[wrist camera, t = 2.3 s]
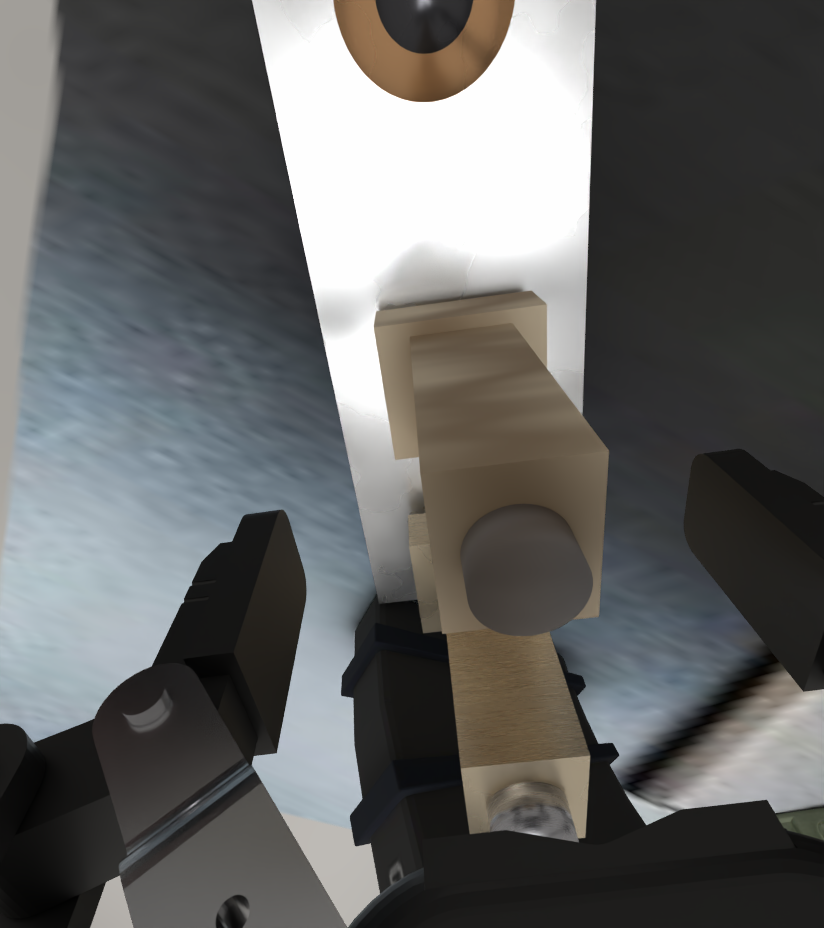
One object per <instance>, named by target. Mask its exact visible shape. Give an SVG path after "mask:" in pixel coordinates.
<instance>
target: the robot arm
mask: <svg viewBox="0 0 824 928" xmlns="http://www.w3.org/2000/svg"><path fill="white" fill-rule="evenodd" d="M684 532H685V536H686V540H687V543H688V545H689V547H690V549H691V551H692V552H693V554H694V555H695V556H696V557H697V559H698V560H699V561H700V562H701V564H702V565H703V566H704V567H705V569H706V570H707V571H708V572H709V574H710V575H711V576H712V577H713V579H714V580H715V581H716V582H717V584H718V585H719V586H720V587H721V589H722V590H723V591H724V593H725V594H726V595H727V596H728V598H729V599H730V600H731V601H732V603H733V604H734V605H735V606H736V608H737V609H738V610H739V611H740V613H741V614H742V615H743V616H744V618H745V619H746V620H747V621H748V623H749V624H750V625H751V626H752V628H753V629H754V630H755V631H756V633H757V634H758V635H759V636H760V638H761V639H762V640H763V641H764V643H765V644H766V645H767V646H768V648H769V649H770V650H771V651H772V653H773V654H774V655H775V656H776V658H777V659H778V660H779V662H780V663H781V664H782V665H783V667H784V668H785V669H786V670H787V672H788V673H789V674H790V675H791V677H792V678H793V679H794V680H795V682H796V683H797V684H798V685H799V687H800V688H801V689H802V690H803V692H804V691H812V690H821V689H824V497H823V496H821V495H820V494H819V493H817V492H816V491H815V490H813V489H812V488H811V487H809V486H808V485H807V484H805V483H803V482H801V481H799V480H796V479H794V478H792V477H789V476H787V475H784V474H782V473H780V472H777V471H775V470H773V471H770V470H769V469H768V468H767V467H765V466H764V465H763V464H762V463H760V462H759V461H758V460H756V459H755V458H754V457H753V456H751V455H750V454H749V453H748V452H746V451H745V450H742V449H734V450H727V451H719V452H712V453H704V454H699V455H697V456H696V457H695V458H694V460H693V462H692V466H691V473H690V480H689V487H688V494H687V501H686V509H685V516H684ZM305 602H306V579H305V573H304V569H303V566H302V562H301V559H300V556H299V552H298V549H297V546H296V542H295V539H294V536H293V532H292V529H291V526H290V522H289V519H288V517H287V514H286V513H285V511H284V510H276V511H268V512H261V513H254V514H246V515H244V516H243V518H242V520H241V522H240V524H239V527H238V529H237V532H236V534H235V536H234V539H233V541H232V542H227V543H220V544H219V545H218V546H217V547H216V548H215V549H214V550H213V551H212V552H211V553H210V554H209V555H208V556H207V557H206V558H205V559H204V560H203V561H202V562H201V564H200V566H199V568H198V571H197V573H196V575H195V577H194V579H193V581H192V586H190V587H189V589H188V591H187V594H186V596H185V598H184V603H182V604H181V606H180V608H179V610H178V612H177V615H176V617H175V619H174V621H173V623H172V625H171V627H170V629H169V631H168V633H167V636H166V638H165V640H164V642H163V644H162V646H161V648H160V650H159V652H158V654H157V656H156V659H155V661H154V663H153V665H152V667H149V668H147V669H144V670H142V671H140V672H138V673H136V674H134V675H133V676H131V677H130V678H128V679H127V680H125V681H124V682H123V683H121V684H120V685H119V686H118V687H117V688H116V689H115V690H113V691H112V692H111V693H110V695H109V696H108V697H107V698H106V699H105V700H104V702H103V703H102V705H101V706H100V708H99V709H98V711H97V714H96V716H95V718H94V719H93V720H90V721H88V722H86V723H83V724H81V725H78V726H75V727H73V728H70V729H68V730H65V731H63V732H60V733H58V734H55V735H52V736H50V737H47V738H45V739H42V740H40V741H37V742H35V743H33V741H32V740H31V739H30V738H29V736H28V735H27V734H26V732H25V731H24V730H23V729H22V728H21V727H19V726H17V725H14V724H0V928H90V926H91V923H92V921H93V917H94V915H95V912H96V909H97V906H98V903H99V900H100V898H101V895H102V892H103V889H104V886H105V883H106V882H107V881H109V880H111V879H113V878H115V877H117V876H120V878H121V883H122V886H123V890H124V894H125V898H126V901H127V904H128V908H129V912H130V916H131V920H132V923H133V927H134V928H347V926H346V924H345V923H344V921H343V919H342V918H341V916H340V914H339V912H338V911H337V909H336V907H335V906H334V904H333V902H332V901H331V899H330V897H329V895H328V894H327V892H326V891H325V889H324V887H323V885H322V883H321V882H320V880H319V879H318V877H317V875H316V873H315V872H314V870H313V868H312V866H311V865H310V863H309V861H308V860H307V858H306V856H305V855H304V853H303V851H302V850H301V848H300V846H299V844H298V843H297V841H296V839H295V837H294V836H293V834H292V832H291V831H290V829H289V827H288V826H287V824H286V822H285V820H284V819H283V817H282V815H281V814H280V812H279V810H278V808H277V807H276V805H275V803H274V802H273V800H272V798H271V797H270V795H269V793H268V791H267V790H266V788H265V786H264V785H263V783H262V781H261V780H260V778H259V776H258V775H257V773H256V771H255V770H254V768H253V767H252V761H253V756H257V755H265V754H273V753H277V748H278V743H279V738H280V733H281V728H282V722H283V717H284V712H285V707H286V701H287V696H288V691H289V686H290V681H291V675H292V670H293V665H294V660H295V655H296V649H297V644H298V639H299V634H300V628H301V623H302V618H303V613H304V608H305ZM422 846H423V865H424V867H423V868H421V869H419V870H417V871H415V872H412V873H410V874H408V875H407V876H405V877H403V878H402V879H400V880H399V881H397V882H395V883H394V884H392V885H391V886H389V887H388V888H387V889H386V890H384V891H383V892H382V893H381V894H380V895H378V896H377V897H376V898H375V899H374V900H372V901H371V902H370V903H369V904H368V905H367V907H366V908H364V910H363V911H362V912H361V913H360V914H359V915H358V916H357V917H356V918H355V919H354V920H353V922H352V923H351V924H350V926H349V927H348V928H824V840H821V839H818V838H815V837H811V836H807V835H804V834H800V833H796V832H792V831H787V830H785V829H784V827H783V826H782V824H781V822H780V821H779V819H778V817H777V816H776V814H775V812H774V811H773V809H772V807H771V806H770V804H769V802H768V801H767V800H762V801H753V802H744V803H736V804H727V805H718V806H710V807H701V808H692V809H683V810H679V811H677V812H675V813H673V814H671V815H668V816H666V817H664V818H662V819H660V820H657V821H655V822H653V823H651V824H649V825H646V826H644V827H642V828H640V829H638V830H635V831H633V832H631V833H629V834H627V835H624V836H622V837H620V838H618V839H615V840H613V841H611V842H609V843H606V844H600V845H593V844H586V843H580V842H574V841H568V840H562V839H556V838H550V837H544V836H538V835H533V834H527V833H521V832H515V831H509V830H501V831H492V832H484V833H475V834H466V835H458V836H449V837H440V838H431V839H423V840H422Z"/></svg>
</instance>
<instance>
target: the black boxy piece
mask: <svg viewBox="0 0 824 928" xmlns="http://www.w3.org/2000/svg"><path fill="white" fill-rule="evenodd" d="M557 656H558V659H559V662H560V665H561V668H562V671H563V674H564V677H565V680H566V684H567V687H568V690H569V693H570V696H571V699H572V702H573V705H574V708H575V711H576V714H577V717H578V720H579V723H580V726H581V729H582V732H583V735H584V738H585V741H586V744H587V747H588V750H589V753H590V769H589V785H588V801H587V818H586V834H585V838H578V841H579V842H580V843H586V844H593V845H600V844H606V843H609V842H611V841H613V840H615V839H618V838H620V837H622V836H624V835H627V834H629V833H631V832H633V831H635V830H638V829H640V828H642V827H644V826H646V824H645V823H644V821H643V820H642V818H641V817H640V815H639V814H638V812H637V811H636V809H635V808H634V806H633V805H632V803H631V802H630V800H629V799H628V797H627V795H626V794H625V792H624V790H623V788H622V786H621V785H620V783H619V781H618V779H617V777H616V776H615V774H614V772H613V770H612V768H611V767H610V764H611V763H612V762H613V761H614V760H615V759H616V758H617V757H618V756H619V753H618V752H617V750H616V748H615V746H614V744H613V743H604V744H598V742H597V740H596V738H595V735H594V733H593V731H592V729H591V727H590V725H589V723H588V721H587V719H586V716H585V714H584V712H583V709H582V707H581V704H580V702H579V700H578V697H577V696H578V695H579V694H580V693H581V691H582V690H583V689H584V688H585V687H586V685H585V682H584V679H583V677H582V676H580V675H577V674H573V673H569V672H568V670H567V667H566V664H565V661H564V659H563V657H562V656H561V655H559V654H558V653H557ZM341 695H342V696H346V697H351V698H354V742H355V751H356V757H357V764H358V771H359V778H360V784H361V791H362V798H363V799H362V801H361V802H360V803H359V805H358V806H357V807H356V809H355V810H354V811H353V812H352V814H351V815H350V821H351V827H352V832H353V838H354V843H355V846H360V845H365V844H370V843H371V847H372V852H373V857H374V863H375V868H376V874H377V879H378V884H379V890H380V894H381V893H382V892H383V891H384V890H386V889H387V888H388V887H389V886H391V885H392V884H394V883H395V882H397V881H399V880H400V879H402V878H403V877H405V876H407V875H408V874H410V873H412V872H415V871H417V870H419V869H421V868H423V867H424V865H423V846H422V840H423V839H431V838H440V837H449V836H458V835H466V834H470V832H469V825H468V817H467V810H466V803H465V796H464V788H463V781H462V774H461V766H460V757H459V747H458V738H457V728H456V719H455V710H454V700H453V691H452V682H451V672H450V663H449V653H448V644H447V635H446V634H442V631H440V632H431V633H423V629H422V623H421V617H420V611H419V605H418V604H415V603H412V602H409V601H399V602H390V603H382V604H379V601H378V597H377V596H376V597H375V599H374V601H373V602H372V604H371V606H370V607H369V609H368V611H367V612H366V614H365V616H364V617H363V619H362V621H361V622H360V624H359V626H358V627H357V629H356V631H355V656H354V658H353V659H352V661H351V662H350V664H349V666H348V667H347V669H346V670H345V672H344V674H343V675H342V688H341Z"/></svg>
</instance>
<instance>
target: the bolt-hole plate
mask: <svg viewBox="0 0 824 928" xmlns="http://www.w3.org/2000/svg"><path fill="white" fill-rule="evenodd" d="M252 2H253V7H254V12H255V16H256V21H257V26H258V31H259V35H260V40H261V45H262V50H263V54H264V59H265V64H266V69H267V73H268V78H269V83H270V88H271V92H272V97H273V102H274V107H275V111H276V116H277V121H278V126H279V130H280V135H281V140H282V145H283V149H284V154H285V159H286V164H287V168H288V173H289V178H290V183H291V188H292V192H293V197H294V202H295V207H296V211H297V216H298V221H299V226H300V230H301V235H302V240H303V245H304V249H305V254H306V259H307V264H308V268H309V273H310V278H311V283H312V287H313V292H314V297H315V302H316V306H317V311H318V316H319V321H320V325H321V330H322V335H323V340H324V344H325V349H326V354H327V359H328V363H329V368H330V373H331V378H332V382H333V387H334V392H335V397H336V402H337V406H338V411H339V416H340V421H341V425H342V430H343V435H344V440H345V444H346V449H347V454H348V459H349V463H350V468H351V473H352V478H353V482H354V487H355V492H356V497H357V501H358V506H359V511H360V516H361V520H362V525H363V530H364V535H365V539H366V544H367V549H368V554H369V558H370V563H371V568H372V573H373V577H374V582H375V587H376V592H377V597H378V601H379V604H382V603H390V602H399V601H408V600H417V599H418V605H419V611H420V617H421V623H422V629H423V633H431V632H440V631H442V628H441V621H440V614H439V607H438V599H437V592H436V585H435V577H434V570H433V563H432V556H431V548H430V541H429V534H428V527H427V519H426V512H425V505H424V497H423V490H422V483H421V476H420V464H419V457H416V458H408V459H399V460H395V456H394V450H393V444H392V438H391V432H390V426H389V419H388V413H387V407H386V401H385V395H384V388H383V382H382V376H381V370H380V364H379V358H378V351H377V345H376V339H375V333H374V322H375V315H376V311H382V310H390V309H397V308H405V307H412V306H420V305H427V304H435V303H442V302H449V301H457V300H464V299H472V298H479V297H487V296H494V295H502V294H509V293H516V292H524V291H531V290H532V291H533V292H534V293H535V294H536V295H537V296H538V297H539V298H540V299H542V300H543V301H544V302H545V303H546V304H547V369H548V371H549V372H550V373H551V375H552V376H553V377H554V379H555V380H556V381H557V383H558V384H559V385H560V387H561V388H562V389H563V391H564V392H565V393H566V395H567V396H568V397H569V398H570V400H571V401H572V402H573V404H574V405H575V406H576V408H577V409H578V410H579V412H580V413H581V414H582V411H583V380H584V349H585V319H586V288H587V257H588V227H589V196H590V165H591V134H592V104H593V73H594V42H595V11H596V0H252ZM446 635H447V644H448V653H449V663H450V672H451V682H452V691H453V700H454V710H455V719H456V728H457V738H458V747H459V757H460V766H461V774H462V781H463V788H464V796H465V803H466V810H467V817H468V825H469V832H470V834H475V833H484V832H492V831H501V830H509V831H515V832H521V833H527V834H533V835H538V836H544V837H550V838H556V839H562V840H568V841H574V842H579V841H578V838H585V834H586V818H587V801H588V785H589V769H590V753H589V750H588V747H587V744H586V741H585V738H584V735H583V732H582V729H581V726H580V723H579V720H578V717H577V714H576V711H575V708H574V705H573V702H572V699H571V696H570V693H569V690H568V687H567V684H566V680H565V677H564V674H563V671H562V668H561V665H560V662H559V659H558V656H557V653H556V650H555V647H554V644H553V641H552V638H551V635H550V632H547V633H543V634H539V635H533V636H511V635H505V634H501V633H498V632H495V631H493V630H491V629H483V630H474V631H465V632H456V633H447V634H446Z"/></svg>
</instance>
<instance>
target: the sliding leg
mask: <svg viewBox="0 0 824 928" xmlns="http://www.w3.org/2000/svg"><path fill="white" fill-rule="evenodd" d="M374 333H375V339H376V345H377V351H378V358H379V364H380V370H381V376H382V382H383V388H384V395H385V401H386V407H387V413H388V419H389V426H390V432H391V438H392V444H393V450H394V456H395V460H399V459H408V458H416V457H419V464H420V476H421V483H422V490H423V497H424V505H425V512H426V519H427V527H428V534H429V541H430V548H431V556H432V563H433V570H434V577H435V585H436V592H437V599H438V607H439V614H440V621H441V628H442V634H447V633H456V632H465V631H474V630H483V629H491V630H493V631H495V632H498V633H501V634H505V635H511V636H533V635H539V634H543V633H547V632H550V631H553V630H555V629H557V628H559V627H561V626H563V625H565V624H567V623H568V622H569V621H571V620H574V619H583V618H592V617H599V605H600V589H601V573H602V557H603V540H604V524H605V508H606V491H607V475H608V459H609V450H608V449H607V448H606V446H605V445H604V444H603V442H602V441H601V440H600V438H599V437H598V436H597V434H596V433H595V432H594V430H593V429H592V428H591V426H590V425H589V424H588V422H587V421H586V420H585V418H584V417H583V416H582V414H581V413H580V412H579V410H578V409H577V408H576V406H575V405H574V404H573V402H572V401H571V400H570V398H569V397H568V396H567V395H566V393H565V392H564V391H563V389H562V388H561V387H560V385H559V384H558V383H557V381H556V380H555V379H554V377H553V376H552V375H551V373H550V372H549V371H548V369H547V304H546V303H545V302H544V301H543V300H542V299H540V298H539V297H538V296H537V295H536V294H535V293H534V292H533V291H532V290H531V291H524V292H516V293H509V294H502V295H494V296H487V297H479V298H472V299H464V300H457V301H449V302H442V303H435V304H427V305H420V306H412V307H405V308H397V309H390V310H382V311H376V315H375V322H374Z"/></svg>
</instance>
